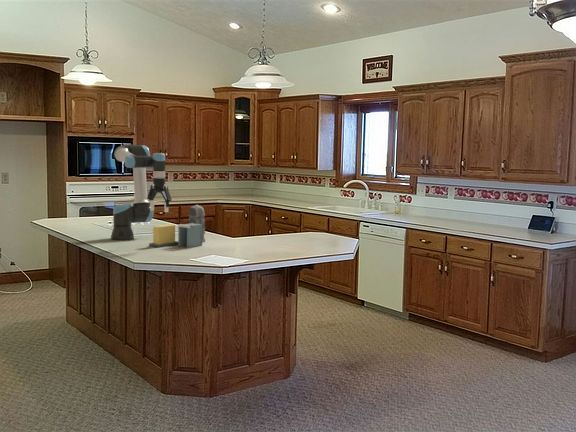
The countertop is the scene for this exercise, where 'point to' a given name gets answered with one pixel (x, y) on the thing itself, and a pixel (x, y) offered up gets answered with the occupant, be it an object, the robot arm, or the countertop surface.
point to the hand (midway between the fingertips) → (159, 211)
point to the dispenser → (190, 235)
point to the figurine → (197, 217)
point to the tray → (163, 244)
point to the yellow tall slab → (163, 234)
